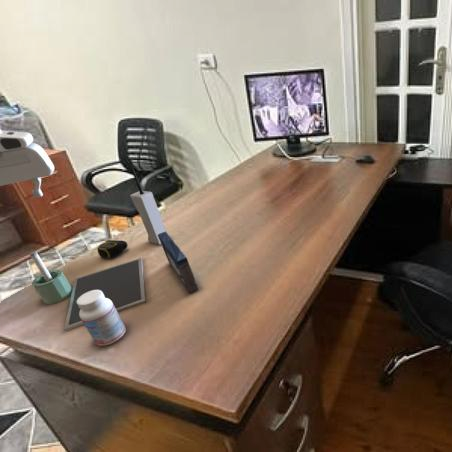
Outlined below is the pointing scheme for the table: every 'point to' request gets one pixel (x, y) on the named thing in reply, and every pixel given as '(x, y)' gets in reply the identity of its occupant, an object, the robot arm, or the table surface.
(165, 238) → the vhs cassette tape
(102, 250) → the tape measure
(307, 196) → the table surface
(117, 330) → the pill bottle
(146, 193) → the vintage mobile phone
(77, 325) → the tablet
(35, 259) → the stylus
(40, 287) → the pen cup
